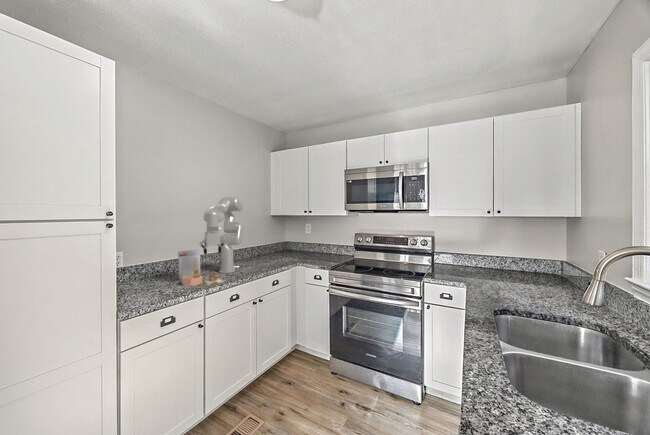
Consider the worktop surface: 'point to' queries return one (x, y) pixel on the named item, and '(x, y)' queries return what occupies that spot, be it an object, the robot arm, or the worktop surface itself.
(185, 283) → the bowl
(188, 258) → the cracker box
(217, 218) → the robot arm
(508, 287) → the worktop surface
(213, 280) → the lid
